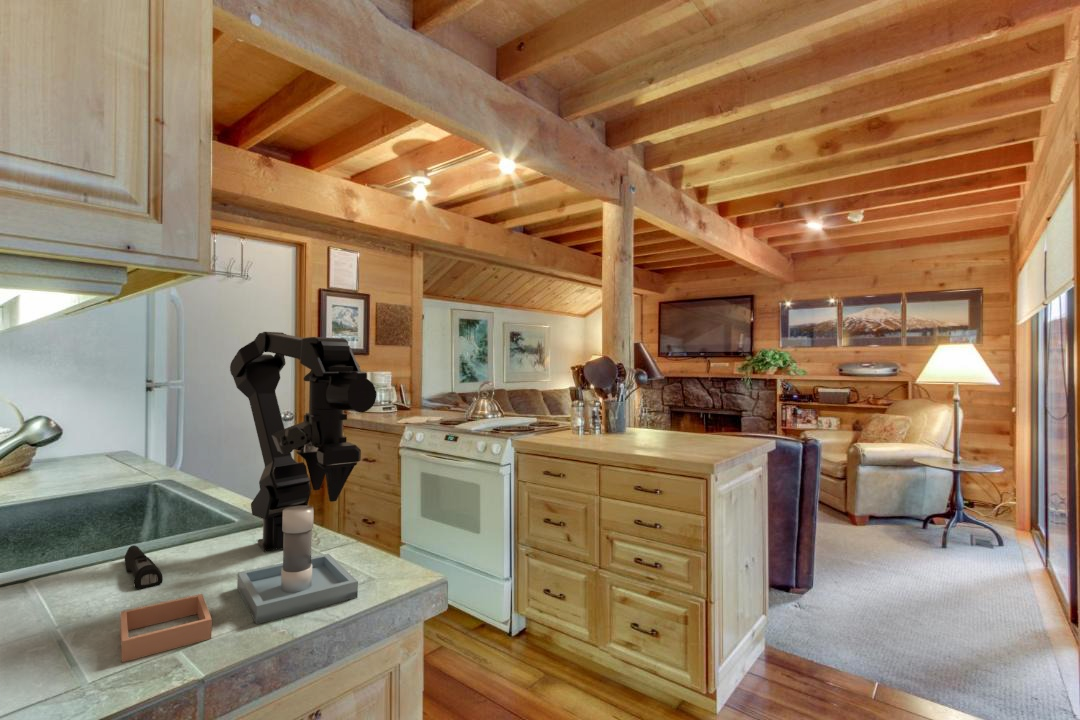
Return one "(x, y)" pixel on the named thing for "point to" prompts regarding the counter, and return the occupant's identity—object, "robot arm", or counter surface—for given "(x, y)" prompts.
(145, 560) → the electric trimmer
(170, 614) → the socket ring
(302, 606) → the parts tray
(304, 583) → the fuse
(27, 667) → the counter surface
